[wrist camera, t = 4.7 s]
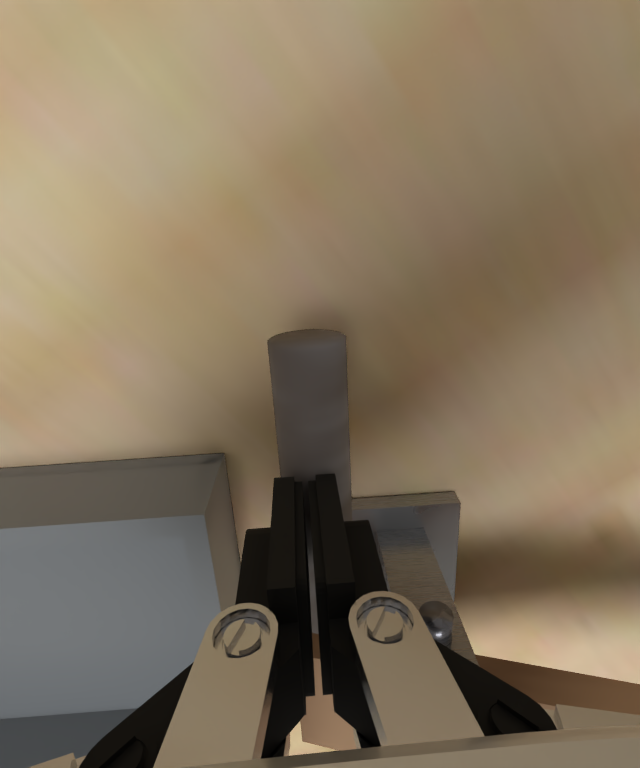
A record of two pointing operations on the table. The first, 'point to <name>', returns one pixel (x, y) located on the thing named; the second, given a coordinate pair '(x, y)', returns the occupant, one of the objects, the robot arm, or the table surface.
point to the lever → (332, 455)
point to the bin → (105, 592)
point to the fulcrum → (420, 557)
